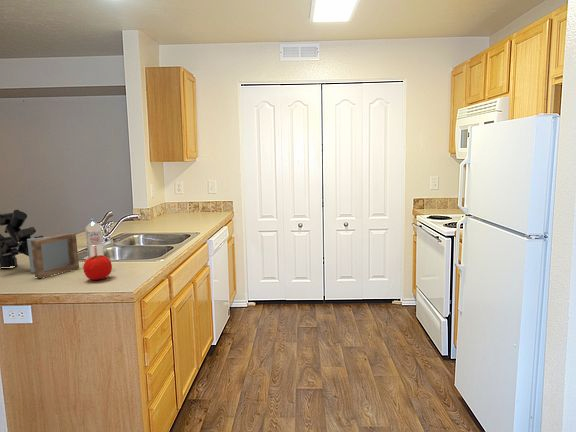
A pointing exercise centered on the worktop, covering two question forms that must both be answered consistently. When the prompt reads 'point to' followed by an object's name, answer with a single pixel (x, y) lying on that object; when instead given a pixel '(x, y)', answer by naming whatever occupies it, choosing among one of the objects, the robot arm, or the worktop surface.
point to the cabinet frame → (73, 265)
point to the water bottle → (94, 239)
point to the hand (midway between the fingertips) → (33, 257)
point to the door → (51, 254)
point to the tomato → (97, 267)
